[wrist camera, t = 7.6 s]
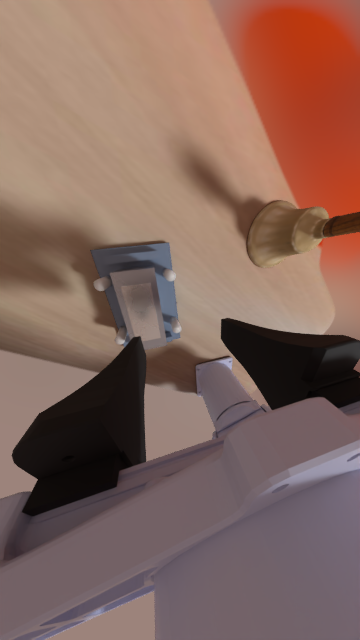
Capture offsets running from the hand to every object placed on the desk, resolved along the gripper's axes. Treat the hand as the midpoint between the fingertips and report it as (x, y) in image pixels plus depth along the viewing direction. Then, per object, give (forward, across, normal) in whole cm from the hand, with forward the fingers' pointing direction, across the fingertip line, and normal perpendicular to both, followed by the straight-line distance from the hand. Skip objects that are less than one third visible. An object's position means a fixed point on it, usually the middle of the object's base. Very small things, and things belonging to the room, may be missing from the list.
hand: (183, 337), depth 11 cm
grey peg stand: (+10, +4, -1) cm, 10 cm away
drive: (+9, +3, -1) cm, 10 cm away
